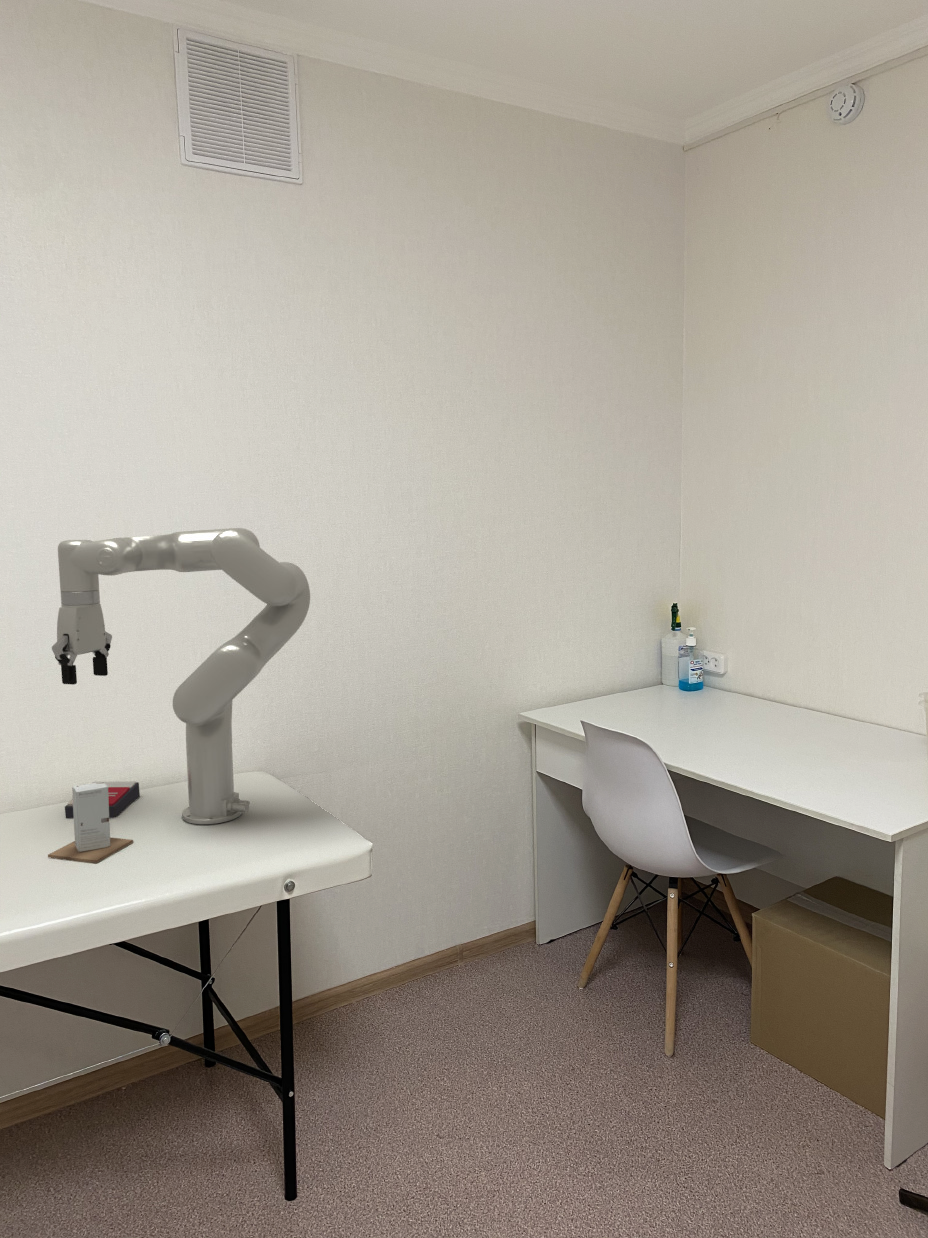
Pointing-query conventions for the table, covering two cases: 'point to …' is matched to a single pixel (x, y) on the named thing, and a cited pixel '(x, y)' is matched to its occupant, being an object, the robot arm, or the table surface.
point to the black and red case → (114, 797)
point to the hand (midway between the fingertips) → (85, 679)
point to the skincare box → (91, 816)
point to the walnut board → (90, 851)
